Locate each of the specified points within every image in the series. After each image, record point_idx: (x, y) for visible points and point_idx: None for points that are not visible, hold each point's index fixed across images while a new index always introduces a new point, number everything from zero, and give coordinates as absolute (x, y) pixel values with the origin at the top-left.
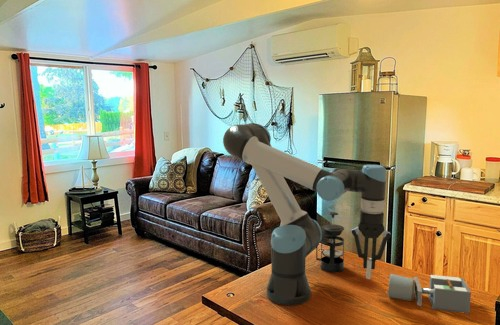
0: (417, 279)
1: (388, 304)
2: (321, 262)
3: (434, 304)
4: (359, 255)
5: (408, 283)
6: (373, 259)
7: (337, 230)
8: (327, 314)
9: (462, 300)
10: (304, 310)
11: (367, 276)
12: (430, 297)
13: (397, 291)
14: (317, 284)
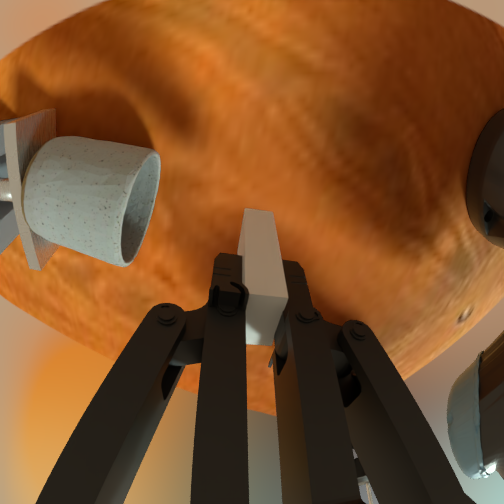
0: (26, 246)
1: (169, 102)
2: None
3: (6, 122)
4: (365, 335)
5: (40, 176)
6: (227, 305)
7: (363, 476)
8: (441, 29)
9: None
10: (494, 73)
11: (266, 218)
12: None
13: (107, 143)
14: (424, 247)
